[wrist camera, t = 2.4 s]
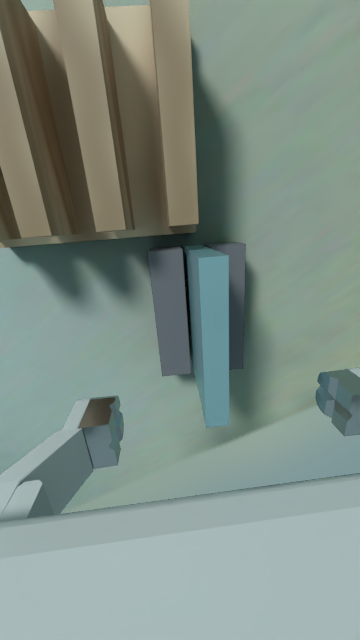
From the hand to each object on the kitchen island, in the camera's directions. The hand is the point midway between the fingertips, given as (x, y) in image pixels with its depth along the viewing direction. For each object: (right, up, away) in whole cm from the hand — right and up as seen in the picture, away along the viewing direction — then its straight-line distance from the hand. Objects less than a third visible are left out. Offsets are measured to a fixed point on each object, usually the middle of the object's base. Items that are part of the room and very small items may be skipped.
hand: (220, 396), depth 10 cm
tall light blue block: (0, +4, +11) cm, 12 cm away
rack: (-8, +15, +7) cm, 19 cm away
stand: (0, +4, +11) cm, 12 cm away
